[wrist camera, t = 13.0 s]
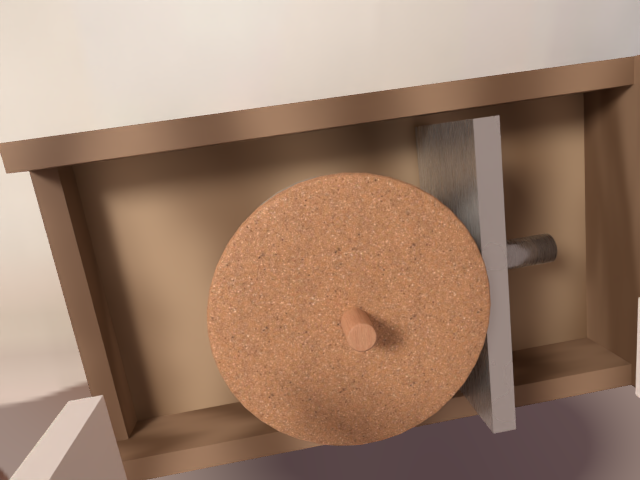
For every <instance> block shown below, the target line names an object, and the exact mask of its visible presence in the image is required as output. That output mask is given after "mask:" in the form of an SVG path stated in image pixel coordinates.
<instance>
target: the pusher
mask: <svg viewBox="0 0 640 480" xmlns="http://www.w3.org/2000/svg"><path fill="white" fill-rule="evenodd" d="M415 136H416V147H417V157H418V168H419V179H420V189H422V190H424V191H425V192H427V193H429V194H431V195H433V196H434V197H435V198H437V199H438V200H439V201H441V202H442V203H443V204H444V205H446V206H447V207H448V208H449V209H451V210H452V212H453V213H454V214H455V215H456V216H457V217H458V218H459V219H460V220H461V221H462V223H463V224H464V225H465V226H466V228H467V229H468V231H469V232H470V234H471V236H472V237H473V239H474V240H475V242H476V244H477V246H478V248H479V251H480V253H481V255H482V258H483V260H484V263H485V267H486V271H487V275H488V279H489V285H490V300H491V307H490V318H489V326H488V330H487V334H486V338H485V342H484V345H483V348H482V350H481V353H480V355H479V357H478V360H477V362H476V364H475V366H474V368H473V369H472V371H471V373H470V374H469V376H468V378H467V379H466V381H465V383H464V384H463V385H462V386H461V387H460V389H459V390H460V391H461V392H462V394H463V395H464V396H465V398H466V399H467V400H468V401H469V403H470V404H471V405H472V407H473V408H474V409H475V410H476V412H477V413H478V414H479V416H480V417H481V418H482V419H483V421H484V422H485V423H486V425H487V426H488V427H489V428H490V430H491V431H492V432H493V434H494V433H499V432H504V431H509V430H515V429H516V419H515V399H514V381H513V362H512V343H511V324H510V305H509V286H508V270H509V269H515V268H521V267H526V266H532V265H538V264H544V263H550V262H553V261H555V259H556V257H557V245H556V242H555V240H554V238H553V237H552V236H551V235H550V234H547V233H545V234H539V235H533V236H527V237H521V238H515V239H509V240H506V230H505V211H504V192H503V173H502V154H501V135H500V117H499V115H497V116H490V117H483V118H476V119H468V120H461V121H454V122H446V123H439V124H432V125H425V126H418V127H415Z"/></svg>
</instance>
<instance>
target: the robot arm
mask: <svg viewBox="0 0 640 480" xmlns="http://www.w3.org/2000/svg"><path fill="white" fill-rule="evenodd" d="M636 395H637V396H638V397H639V398H640V297H639V298H638V326H637V359H636ZM10 480H127V478H126V474H125V471H124V467H123V464H122V460H121V456H120V453H119V449H118V446H117V442H116V439H115V435H114V432H113V428H112V425H111V421H110V418H109V414H108V411H107V407H106V403H105V400H104V396H103V395H100V396H95V397H89V398H84V399H78V400H73V401H69V402H68V403H67V404H66V405H65V407H64V408H63V409H62V411H61V412H60V413H59V415H58V416H57V417H56V419H55V420H54V421H53V423H52V424H51V425H50V427H49V428H48V429H47V431H46V432H45V433H44V435H43V436H42V437H41V439H40V440H39V441H38V443H37V444H36V445H35V447H34V448H33V449H32V451H31V452H30V453H29V455H28V456H27V457H26V459H25V460H24V461H23V463H22V464H21V465H20V466H19V468H18V469H17V471H16V472H15V473H14V475H13V476H12V477H11V478H10Z"/></svg>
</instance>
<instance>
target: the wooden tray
mask: <svg viewBox="0 0 640 480" xmlns="http://www.w3.org/2000/svg"><path fill="white" fill-rule="evenodd" d="M497 115H499V117H500V135H501V154H502V173H503V192H504V211H505V230H506V240H509V239H515V238H521V237H527V236H533V235H539V234H545V233H547V234H550V235H551V236H552V237H553V238H554V240H555V242H556V245H557V257H556V259H555V261H553V262H550V263H544V264H538V265H532V266H526V267H521V268H515V269H509V270H508V286H509V305H510V324H511V343H512V362H513V381H514V399H515V407H520V406H525V405H530V404H535V403H540V402H546V401H550V400H556V399H560V398H565V397H571V396H576V395H581V394H586V393H592V392H597V391H602V390H607V389H611V388H617V387H622V386H627V385H632V386H634V387H635V388H636V359H637V326H638V298H639V297H640V55H637V56H633V57H626V58H618V59H611V60H604V61H596V62H589V63H582V64H575V65H567V66H560V67H553V68H545V69H538V70H531V71H524V72H516V73H509V74H502V75H494V76H487V77H480V78H473V79H465V80H458V81H451V82H443V83H436V84H429V85H422V86H414V87H407V88H400V89H392V90H385V91H378V92H371V93H363V94H356V95H349V96H341V97H334V98H327V99H320V100H312V101H305V102H298V103H290V104H283V105H276V106H269V107H261V108H254V109H247V110H240V111H232V112H225V113H218V114H210V115H203V116H196V117H189V118H181V119H174V120H167V121H159V122H152V123H145V124H138V125H130V126H123V127H116V128H108V129H101V130H94V131H87V132H79V133H72V134H65V135H57V136H50V137H43V138H36V139H28V140H21V141H14V142H6V143H0V153H1V156H2V160H3V163H4V167H5V170H6V173H15V172H25V171H29V172H30V176H31V179H32V183H33V186H34V190H35V194H36V197H37V201H38V204H39V208H40V212H41V215H42V219H43V222H44V226H45V230H46V233H47V237H48V240H49V244H50V248H51V251H52V255H53V259H54V262H55V266H56V269H57V273H58V277H59V280H60V284H61V287H62V291H63V295H64V298H65V302H66V305H67V309H68V313H69V316H70V320H71V324H72V327H73V331H74V334H75V338H76V342H77V345H78V349H79V352H80V356H81V360H82V363H83V367H84V370H85V374H86V378H87V381H88V385H89V389H90V392H91V395H92V397H95V396H100V395H103V396H104V400H105V403H106V407H107V411H108V414H109V418H110V421H111V425H112V428H113V432H114V435H115V439H116V442H117V446H118V449H119V453H120V456H121V460H122V464H123V467H124V471H125V474H126V478H127V480H147V479H152V478H157V477H162V476H167V475H172V474H178V473H183V472H188V471H193V470H198V469H203V468H208V467H213V466H218V465H223V464H228V463H234V462H239V461H244V460H249V459H254V458H259V457H264V456H270V455H274V454H279V453H285V452H290V451H295V450H300V449H305V448H310V447H316V446H321V445H324V444H317V443H313V442H309V441H304V440H300V439H297V438H294V437H292V436H289V435H287V434H284V433H282V432H279V431H277V430H276V429H274V428H272V427H271V426H269V425H267V424H266V423H264V422H262V421H261V420H259V419H258V418H257V417H256V416H255V415H253V414H252V413H251V412H250V411H249V410H247V409H246V408H245V407H244V406H243V405H242V404H241V402H240V401H239V400H238V399H237V398H236V397H235V396H234V394H233V393H232V392H231V391H230V389H229V387H228V386H227V384H226V382H225V381H224V379H223V378H222V376H221V374H220V372H219V370H218V367H217V365H216V362H215V360H214V357H213V355H212V351H211V346H210V341H209V337H208V329H207V305H208V297H209V290H210V286H211V283H212V279H213V276H214V273H215V269H216V266H217V264H218V262H219V260H220V258H221V256H222V254H223V252H224V250H225V248H226V246H227V244H228V242H229V241H230V239H231V238H232V237H233V235H234V234H235V232H236V231H237V230H238V228H239V227H240V225H241V224H242V223H243V222H244V221H245V220H246V219H247V218H248V217H249V216H250V215H251V214H252V213H253V212H254V211H255V210H256V209H257V208H258V207H259V206H260V205H261V204H262V203H263V202H265V201H266V200H268V199H269V198H270V197H272V196H273V195H275V194H276V193H277V192H279V191H281V190H283V189H285V188H287V187H289V186H291V185H293V184H295V183H297V182H300V181H303V180H306V179H309V178H312V177H315V176H322V175H328V174H335V173H370V174H376V175H382V176H388V177H392V178H395V179H397V180H400V181H403V182H406V183H409V184H412V185H414V186H416V187H418V188H420V179H419V168H418V157H417V147H416V136H415V127H418V126H425V125H432V124H439V123H446V122H454V121H461V120H468V119H476V118H483V117H490V116H497ZM474 415H479V414H478V413H477V412H476V410H475V409H474V408H473V407H472V405H471V404H470V403H469V401H468V400H467V399H466V398H465V396H464V395H463V394H462V392H461V391H460V390H458V391H457V392H456V393H455V395H454V396H453V397H452V398H451V399H450V400H449V401H448V402H447V403H446V404H445V405H444V406H443V407H442V408H441V409H440V410H439V411H437V412H436V413H435V414H433V415H432V416H431V417H429V418H428V419H426V420H425V421H423V422H422V423H420V424H419V425H417V426H415V427H418V426H423V425H428V424H433V423H438V422H443V421H448V420H454V419H459V418H464V417H469V416H474Z"/></svg>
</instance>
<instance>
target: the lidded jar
mask: <svg viewBox="0 0 640 480" xmlns="http://www.w3.org/2000/svg"><path fill="white" fill-rule="evenodd" d="M490 307H491V300H490V285H489V279H488V275H487V271H486V267H485V263H484V260H483V258H482V255H481V253H480V251H479V248H478V246H477V244H476V242H475V240H474V239H473V237H472V236H471V234H470V232H469V231H468V229H467V228H466V226H465V225H464V224H463V223H462V221H461V220H460V219H459V218H458V217H457V216H456V215H455V214H454V213H453V212H452V210H451V209H449V208H448V207H447V206H446V205H444V204H443V203H442V202H441V201H439V200H438V199H437V198H435V197H434V196H433V195H431V194H429V193H427V192H425V191H424V190H422V189H420V188H418V187H416V186H414V185H412V184H409V183H406V182H403V181H400V180H397V179H395V178H392V177H388V176H382V175H376V174H370V173H335V174H328V175H322V176H315V177H312V178H309V179H306V180H303V181H300V182H297V183H295V184H293V185H291V186H289V187H287V188H285V189H283V190H281V191H279V192H277V193H276V194H275V195H273V196H272V197H270V198H269V199H268V200H266V201H265V202H263V203H262V204H261V205H260V206H259V207H258V208H257V209H256V210H255V211H254V212H253V213H252V214H251V215H250V216H249V217H248V218H247V219H246V220H245V221H244V222H243V223H242V224H241V225H240V227H239V228H238V230H237V231H236V232H235V234H234V235H233V237H232V238H231V239H230V241H229V242H228V244H227V246H226V248H225V250H224V252H223V254H222V256H221V258H220V260H219V262H218V264H217V266H216V269H215V273H214V276H213V279H212V283H211V286H210V290H209V297H208V305H207V329H208V337H209V341H210V346H211V351H212V355H213V357H214V360H215V362H216V365H217V367H218V370H219V372H220V374H221V376H222V378H223V379H224V381H225V382H226V384H227V386H228V387H229V389H230V391H231V392H232V393H233V394H234V396H235V397H236V398H237V399H238V400H239V401H240V402H241V404H242V405H243V406H244V407H245V408H246V409H247V410H249V411H250V412H251V413H252V414H253V415H255V416H256V417H257V418H258V419H259V420H261V421H262V422H264V423H266V424H267V425H269V426H271V427H272V428H274V429H276V430H277V431H279V432H282V433H284V434H287V435H289V436H292V437H294V438H297V439H300V440H304V441H309V442H313V443H317V444H324V445H338V446H341V445H362V444H366V443H371V442H376V441H380V440H383V439H387V438H389V437H393V436H396V435H398V434H401V433H403V432H405V431H407V430H409V429H411V428H413V427H415V426H417V425H419V424H420V423H422V422H423V421H425V420H426V419H428V418H429V417H431V416H432V415H433V414H435V413H436V412H437V411H439V410H440V409H441V408H442V407H443V406H444V405H445V404H446V403H447V402H448V401H449V400H450V399H451V398H452V397H453V396H454V395H455V393H456V392H457V391H458V390H459V389H460V387H461V386H462V385H463V384H464V383H465V381H466V379H467V378H468V376H469V374H470V373H471V371H472V369H473V368H474V366H475V364H476V362H477V360H478V357H479V355H480V353H481V350H482V348H483V345H484V342H485V338H486V334H487V330H488V326H489V318H490Z"/></svg>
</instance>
